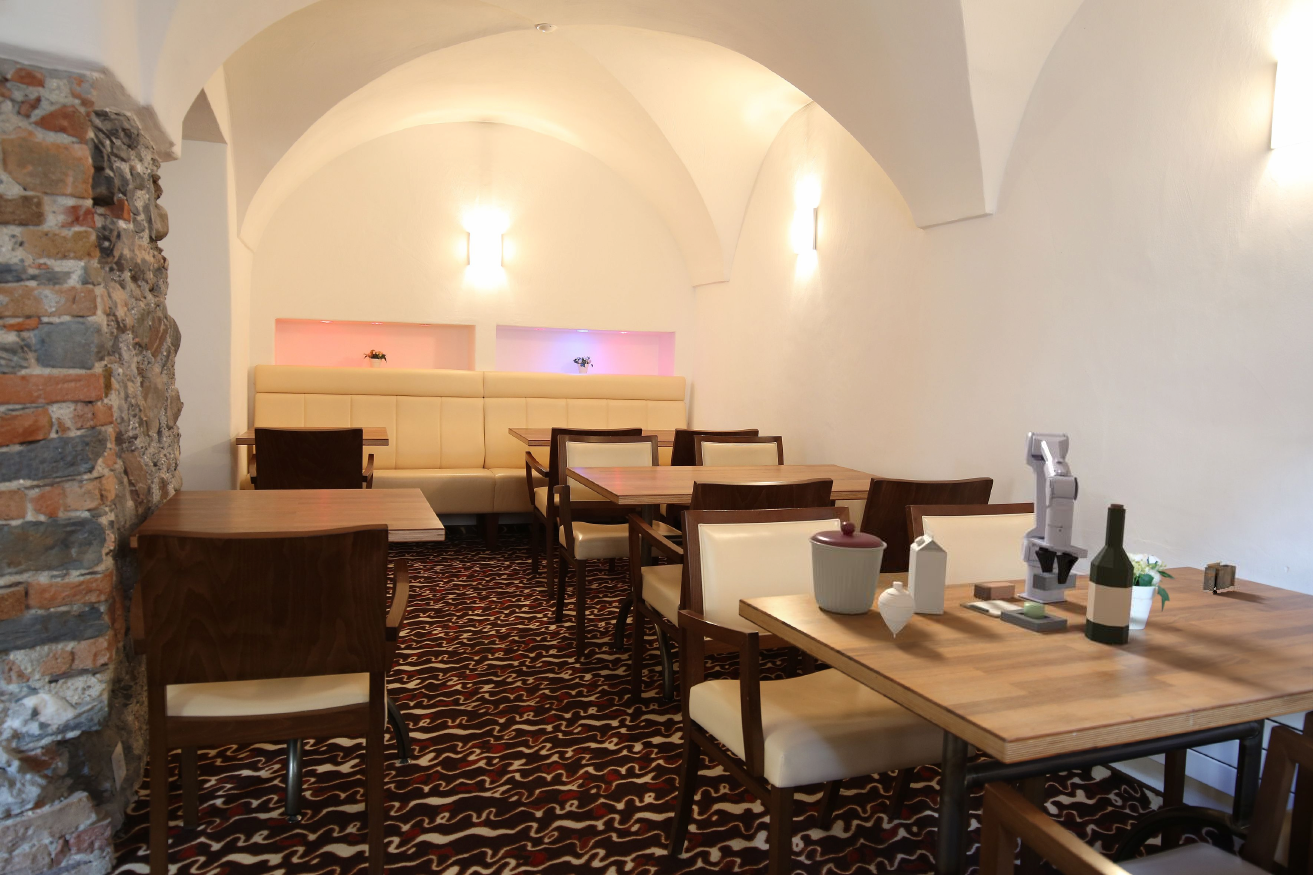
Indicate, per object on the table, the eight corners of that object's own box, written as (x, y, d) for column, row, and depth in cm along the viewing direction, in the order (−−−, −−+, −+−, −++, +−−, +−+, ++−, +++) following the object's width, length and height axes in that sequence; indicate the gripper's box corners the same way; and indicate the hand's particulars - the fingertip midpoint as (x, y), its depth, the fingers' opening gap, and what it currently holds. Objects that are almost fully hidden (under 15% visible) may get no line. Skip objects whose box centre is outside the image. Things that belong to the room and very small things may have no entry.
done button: (1032, 613, 192) (1033, 601, 192) (1048, 618, 188) (1049, 605, 188) (1019, 615, 190) (1020, 602, 190) (1035, 620, 186) (1036, 607, 186)
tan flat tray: (999, 601, 209) (999, 597, 209) (1036, 612, 199) (1036, 608, 199) (959, 605, 203) (959, 601, 203) (995, 617, 193) (995, 613, 193)
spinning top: (915, 645, 169) (918, 588, 168) (877, 641, 170) (880, 584, 170) (911, 634, 176) (914, 579, 176) (874, 630, 178) (878, 576, 177)
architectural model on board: (1214, 596, 227) (1217, 562, 226) (1202, 593, 229) (1205, 559, 229) (1235, 592, 232) (1238, 559, 231) (1223, 590, 235) (1227, 557, 234)
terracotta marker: (1003, 594, 217) (1004, 581, 216) (1014, 597, 214) (1015, 584, 213) (973, 597, 212) (974, 584, 212) (984, 600, 209) (984, 587, 209)
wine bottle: (1084, 640, 177) (1095, 504, 175) (1084, 631, 185) (1095, 500, 183) (1128, 647, 174) (1140, 508, 172) (1127, 637, 181) (1138, 504, 179)
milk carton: (936, 607, 200) (941, 530, 199) (943, 615, 193) (948, 536, 192) (906, 605, 201) (911, 529, 200) (912, 613, 194) (917, 534, 192)
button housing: (1029, 615, 196) (1030, 607, 196) (1066, 627, 187) (1067, 619, 187) (1000, 619, 191) (1000, 611, 191) (1036, 631, 182) (1037, 623, 182)
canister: (826, 594, 208) (831, 513, 206) (894, 609, 196) (900, 523, 195) (791, 607, 194) (795, 520, 192) (861, 624, 182) (867, 531, 181)
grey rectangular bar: (1063, 584, 200) (1064, 570, 200) (1075, 587, 197) (1076, 573, 197) (1032, 587, 195) (1033, 573, 195) (1044, 591, 192) (1045, 576, 192)
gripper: (1021, 521, 200) (1017, 575, 201) (1075, 532, 187) (1070, 590, 188) (1041, 520, 203) (1037, 573, 204) (1095, 530, 190) (1090, 587, 191)
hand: (1054, 581), depth 196 cm, fingers closed on grey rectangular bar, 3 cm apart
